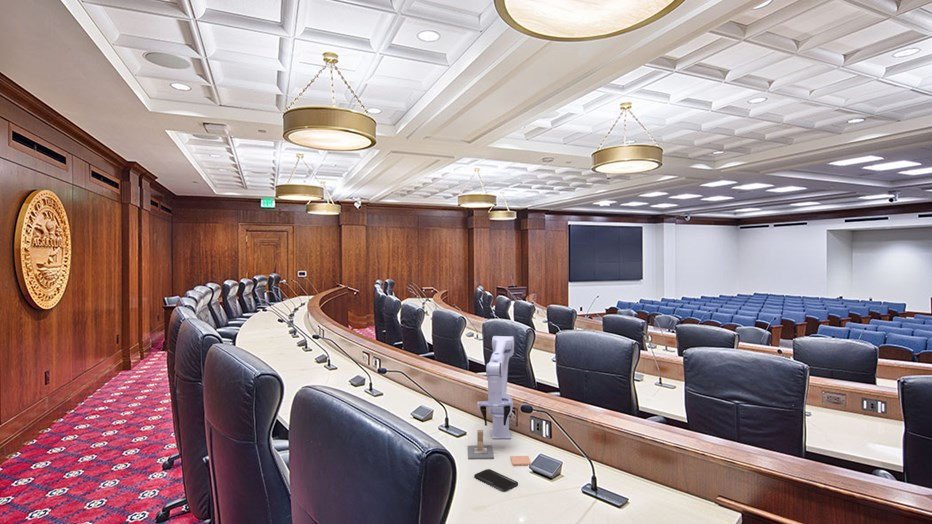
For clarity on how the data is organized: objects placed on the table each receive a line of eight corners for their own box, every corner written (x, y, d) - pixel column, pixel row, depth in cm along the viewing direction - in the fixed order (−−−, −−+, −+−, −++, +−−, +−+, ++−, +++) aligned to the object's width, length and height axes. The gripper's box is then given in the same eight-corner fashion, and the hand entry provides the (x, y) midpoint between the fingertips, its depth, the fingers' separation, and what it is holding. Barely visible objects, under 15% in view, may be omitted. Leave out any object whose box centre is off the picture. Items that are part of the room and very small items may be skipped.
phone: (488, 468, 164) (519, 482, 153) (488, 471, 164) (519, 485, 153) (472, 475, 159) (503, 490, 148) (472, 478, 159) (503, 493, 148)
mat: (467, 447, 186) (467, 445, 186) (491, 446, 186) (491, 445, 186) (468, 459, 174) (468, 457, 174) (494, 458, 174) (494, 457, 174)
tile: (510, 456, 174) (512, 463, 167) (528, 455, 175) (531, 463, 168) (510, 459, 174) (512, 467, 167) (528, 459, 175) (531, 467, 168)
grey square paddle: (474, 450, 181) (473, 430, 181) (486, 449, 181) (486, 430, 181) (474, 454, 176) (474, 434, 176) (487, 454, 176) (487, 434, 177)
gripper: (477, 394, 180) (477, 428, 180) (513, 394, 180) (514, 427, 180) (477, 389, 187) (477, 422, 187) (511, 389, 187) (512, 421, 187)
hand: (495, 424), depth 184 cm, fingers open, 7 cm apart
